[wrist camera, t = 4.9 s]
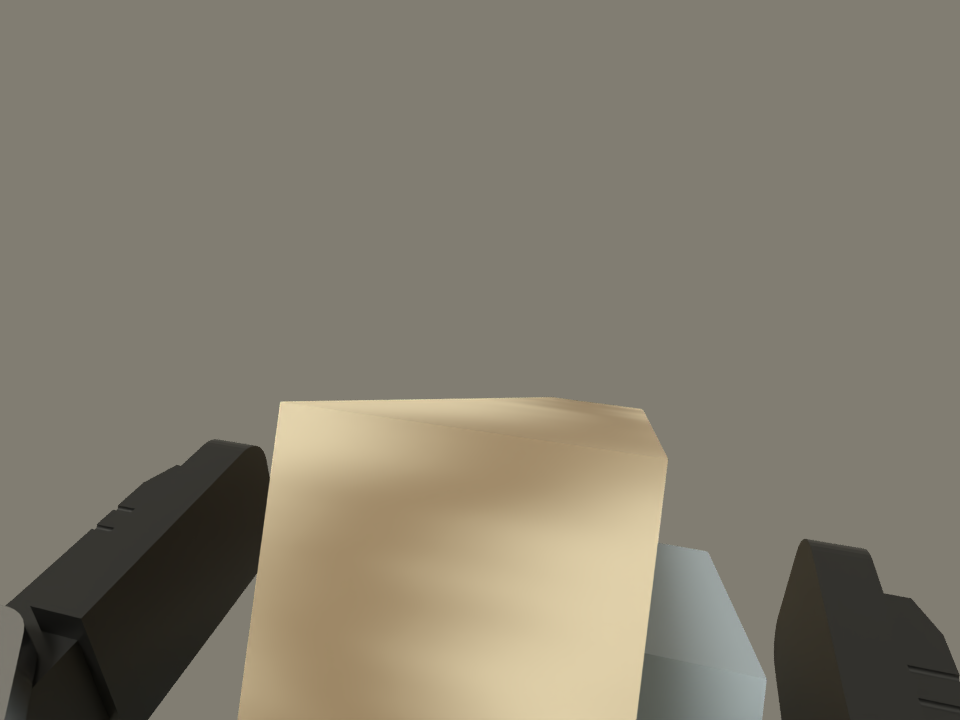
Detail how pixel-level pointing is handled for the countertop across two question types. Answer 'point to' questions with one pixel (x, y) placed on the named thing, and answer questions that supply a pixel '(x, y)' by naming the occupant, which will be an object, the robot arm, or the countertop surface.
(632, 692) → the maple bar
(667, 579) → the slate stand
